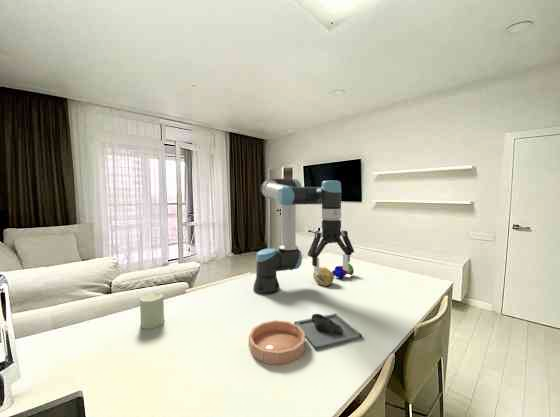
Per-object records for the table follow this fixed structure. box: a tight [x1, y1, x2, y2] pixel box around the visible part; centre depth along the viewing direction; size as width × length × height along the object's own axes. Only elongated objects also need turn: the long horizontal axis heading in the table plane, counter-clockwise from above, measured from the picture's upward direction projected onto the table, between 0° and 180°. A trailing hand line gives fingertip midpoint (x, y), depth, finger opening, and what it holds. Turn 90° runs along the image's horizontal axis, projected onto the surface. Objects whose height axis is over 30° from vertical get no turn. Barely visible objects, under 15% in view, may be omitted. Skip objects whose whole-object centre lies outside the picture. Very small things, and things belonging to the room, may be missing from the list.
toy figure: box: [331, 262, 354, 279], centre depth 163 cm, size 9×10×15 cm
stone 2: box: [311, 313, 343, 334], centre depth 98 cm, size 7×13×5 cm, turn 56°
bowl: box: [248, 319, 306, 366], centre depth 89 cm, size 20×20×4 cm
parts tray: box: [293, 313, 363, 351], centre depth 98 cm, size 18×20×1 cm
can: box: [139, 292, 165, 330], centre depth 105 cm, size 9×9×12 cm
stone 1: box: [312, 266, 335, 287], centre depth 151 cm, size 13×10×10 cm
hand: (331, 272), depth 98 cm, fingers open, 13 cm apart
